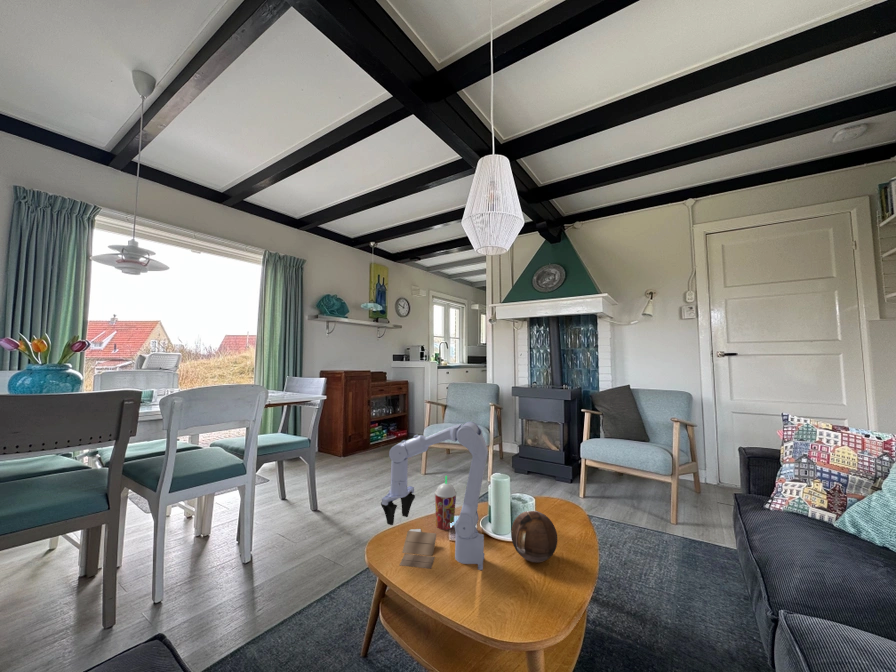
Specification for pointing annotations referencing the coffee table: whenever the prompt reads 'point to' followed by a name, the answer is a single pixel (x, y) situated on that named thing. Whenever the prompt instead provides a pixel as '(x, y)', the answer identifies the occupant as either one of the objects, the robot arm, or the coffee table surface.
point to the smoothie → (445, 505)
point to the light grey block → (416, 530)
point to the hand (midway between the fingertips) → (397, 520)
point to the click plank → (419, 543)
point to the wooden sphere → (534, 536)
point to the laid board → (417, 561)
